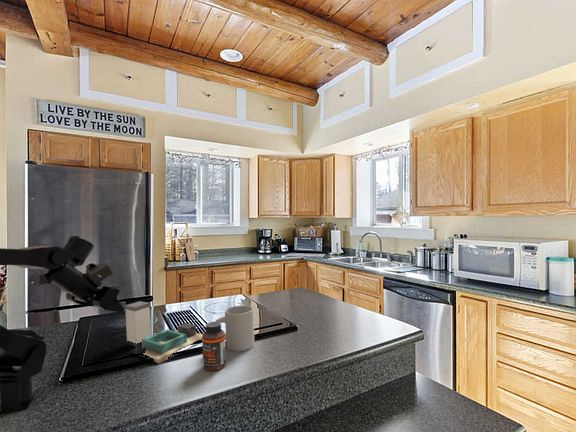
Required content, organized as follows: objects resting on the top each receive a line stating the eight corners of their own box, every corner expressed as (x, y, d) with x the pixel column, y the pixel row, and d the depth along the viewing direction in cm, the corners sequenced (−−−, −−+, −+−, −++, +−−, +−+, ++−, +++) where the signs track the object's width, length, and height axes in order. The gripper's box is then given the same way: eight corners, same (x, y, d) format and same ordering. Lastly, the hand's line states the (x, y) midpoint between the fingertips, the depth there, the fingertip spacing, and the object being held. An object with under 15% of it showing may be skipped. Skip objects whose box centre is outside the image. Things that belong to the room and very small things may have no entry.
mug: (250, 337, 103) (248, 303, 102) (258, 348, 95) (256, 311, 95) (212, 345, 98) (210, 309, 98) (217, 356, 90) (215, 318, 90)
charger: (136, 347, 98) (134, 307, 98) (127, 344, 101) (125, 305, 101) (151, 341, 102) (149, 303, 102) (141, 338, 105) (139, 301, 105)
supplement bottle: (199, 371, 82) (197, 328, 82) (208, 360, 88) (206, 319, 88) (221, 372, 81) (219, 328, 81) (229, 361, 87) (227, 320, 87)
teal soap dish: (159, 363, 87) (158, 348, 87) (130, 353, 94) (129, 339, 94) (207, 339, 103) (206, 326, 103) (179, 332, 109) (179, 320, 109)
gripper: (111, 257, 85) (149, 288, 95) (75, 254, 95) (113, 282, 105) (81, 293, 79) (125, 323, 88) (46, 286, 88) (89, 313, 98)
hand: (113, 308), depth 95 cm, fingers open, 9 cm apart
